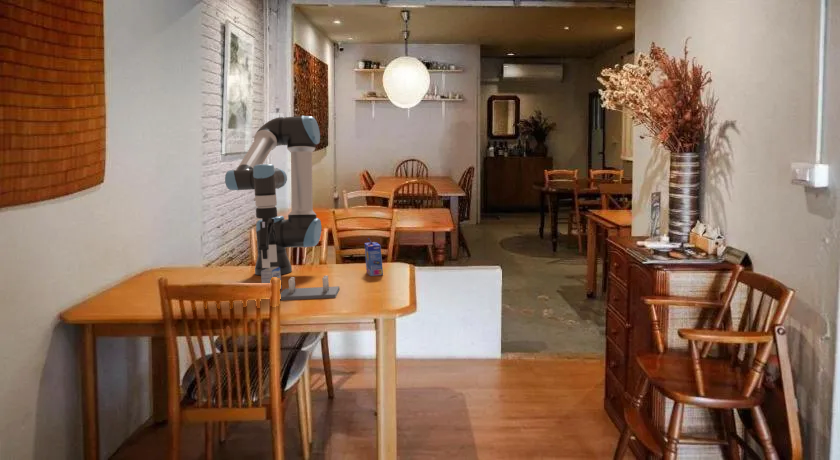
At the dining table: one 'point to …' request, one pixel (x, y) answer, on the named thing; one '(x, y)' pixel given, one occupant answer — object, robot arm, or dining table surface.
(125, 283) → the dining table surface
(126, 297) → the dining table surface
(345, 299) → the dining table surface
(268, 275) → the medicine box
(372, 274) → the ink cartridge box
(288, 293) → the cradle
